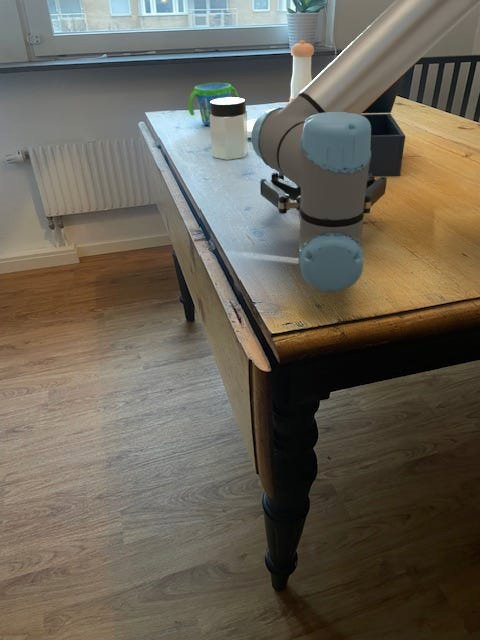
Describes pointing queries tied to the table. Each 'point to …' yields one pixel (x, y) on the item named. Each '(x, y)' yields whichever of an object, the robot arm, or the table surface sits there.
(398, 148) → the box
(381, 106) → the lunchbox lid
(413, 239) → the table surface
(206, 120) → the snack cup
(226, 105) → the jar
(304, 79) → the pepper shaker
